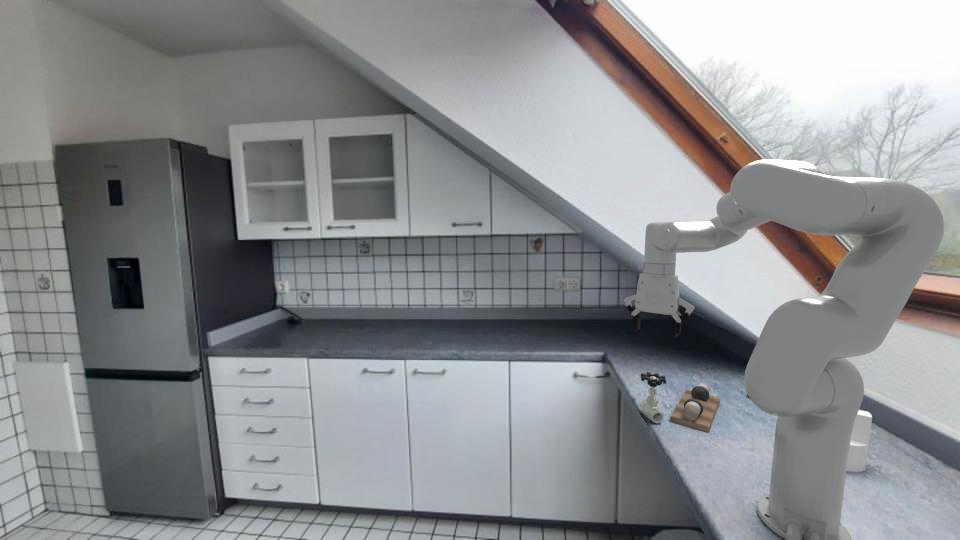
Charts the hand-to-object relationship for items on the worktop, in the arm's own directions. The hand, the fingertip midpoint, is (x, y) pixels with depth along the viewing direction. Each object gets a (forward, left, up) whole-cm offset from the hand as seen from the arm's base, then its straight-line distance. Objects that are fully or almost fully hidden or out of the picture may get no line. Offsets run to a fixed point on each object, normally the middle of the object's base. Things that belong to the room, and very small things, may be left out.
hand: (655, 332), depth 101 cm
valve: (0, 0, -25) cm, 25 cm away
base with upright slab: (+7, -38, -25) cm, 46 cm away
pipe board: (+12, -9, -24) cm, 28 cm away
